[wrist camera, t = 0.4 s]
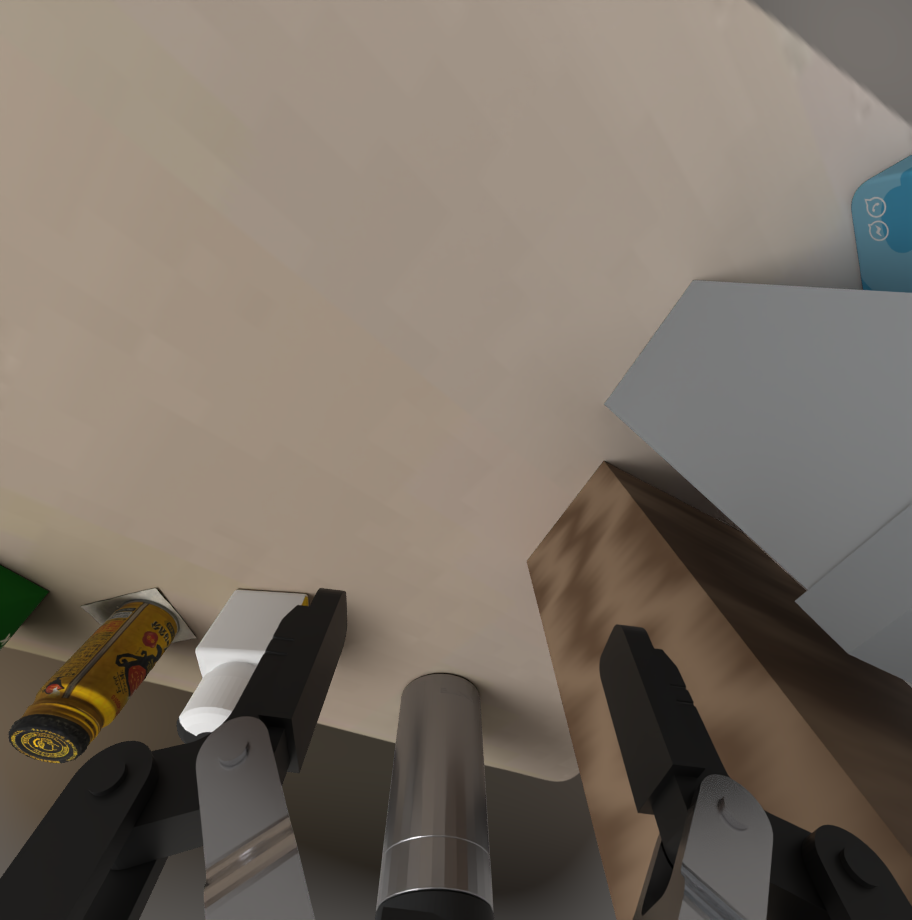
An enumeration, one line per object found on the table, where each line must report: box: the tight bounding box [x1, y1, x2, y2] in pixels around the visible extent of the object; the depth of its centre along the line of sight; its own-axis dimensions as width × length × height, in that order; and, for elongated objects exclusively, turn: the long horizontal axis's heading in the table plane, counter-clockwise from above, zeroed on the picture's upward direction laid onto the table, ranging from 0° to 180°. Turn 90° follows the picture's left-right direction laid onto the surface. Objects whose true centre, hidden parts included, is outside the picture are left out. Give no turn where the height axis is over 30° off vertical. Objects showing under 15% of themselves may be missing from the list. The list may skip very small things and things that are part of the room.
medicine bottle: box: [177, 590, 309, 744], centre depth 35 cm, size 7×7×12 cm
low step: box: [604, 280, 912, 683], centre depth 21 cm, size 11×20×22 cm, turn 62°
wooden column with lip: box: [527, 461, 912, 920], centre depth 23 cm, size 13×16×32 cm
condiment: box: [9, 588, 196, 763], centre depth 36 cm, size 7×8×12 cm
